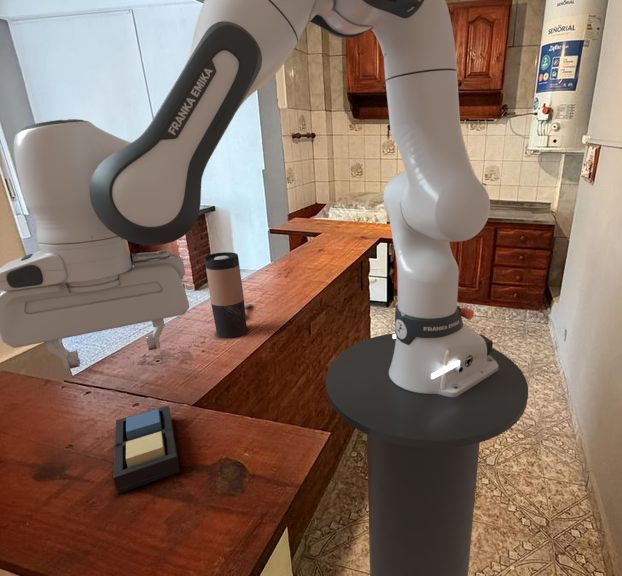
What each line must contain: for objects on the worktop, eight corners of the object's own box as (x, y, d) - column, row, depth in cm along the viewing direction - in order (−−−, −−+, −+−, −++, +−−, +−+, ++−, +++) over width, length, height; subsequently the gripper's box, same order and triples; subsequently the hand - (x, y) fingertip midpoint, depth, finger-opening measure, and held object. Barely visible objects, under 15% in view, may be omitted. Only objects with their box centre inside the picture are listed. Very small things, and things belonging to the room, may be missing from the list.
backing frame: (171, 419, 68) (168, 405, 67) (180, 472, 57) (176, 456, 56) (119, 434, 64) (116, 420, 63) (117, 494, 53) (113, 477, 52)
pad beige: (164, 447, 60) (161, 430, 59) (166, 463, 57) (163, 446, 56) (130, 458, 58) (125, 441, 57) (130, 476, 55) (125, 459, 54)
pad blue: (161, 423, 66) (158, 408, 65) (163, 437, 62) (160, 421, 61) (130, 433, 63) (126, 417, 62) (130, 448, 60) (125, 432, 59)
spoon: (231, 321, 107) (230, 314, 107) (243, 308, 119) (242, 301, 118) (242, 321, 107) (241, 314, 107) (253, 308, 119) (252, 301, 118)
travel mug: (249, 325, 105) (240, 251, 99) (245, 337, 98) (235, 259, 92) (219, 327, 104) (208, 252, 98) (212, 339, 97) (200, 260, 90)
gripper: (178, 244, 58) (194, 330, 62) (-11, 266, 48) (25, 367, 52) (183, 252, 52) (200, 346, 57) (-27, 279, 42) (14, 390, 47)
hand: (115, 356), depth 54 cm, fingers open, 8 cm apart
